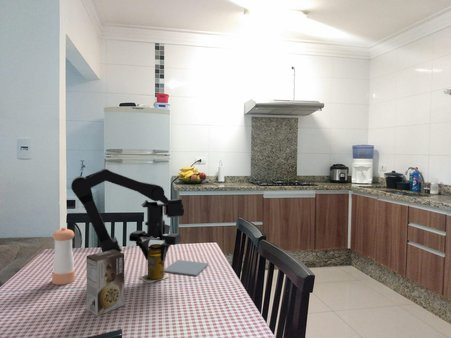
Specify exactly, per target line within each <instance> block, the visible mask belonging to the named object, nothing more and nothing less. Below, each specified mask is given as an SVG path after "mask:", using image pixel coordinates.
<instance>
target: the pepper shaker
mask: <svg viewBox="0 0 451 338" xmlns="http://www.w3.org/2000/svg"><path fill="white" fill-rule="evenodd" d="M52 238H53V240H54V256H53V261H52V264H53V267H52V268H53V271H52V274H51V278H52V279H51V282H52V284H53V285H67V284H71V283H73V282H74V281H75V280H76V276H75V275H76V272H75V271H76V269H75V268H74V267H75V265H74V264H75V262H74V261H75V259H74V253H73V239H74V238H75V232H74V231H73V230H72V229H69V228H66V227H61V228H60V229H57V230H55V231H54V232H53V234H52Z"/></svg>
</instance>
